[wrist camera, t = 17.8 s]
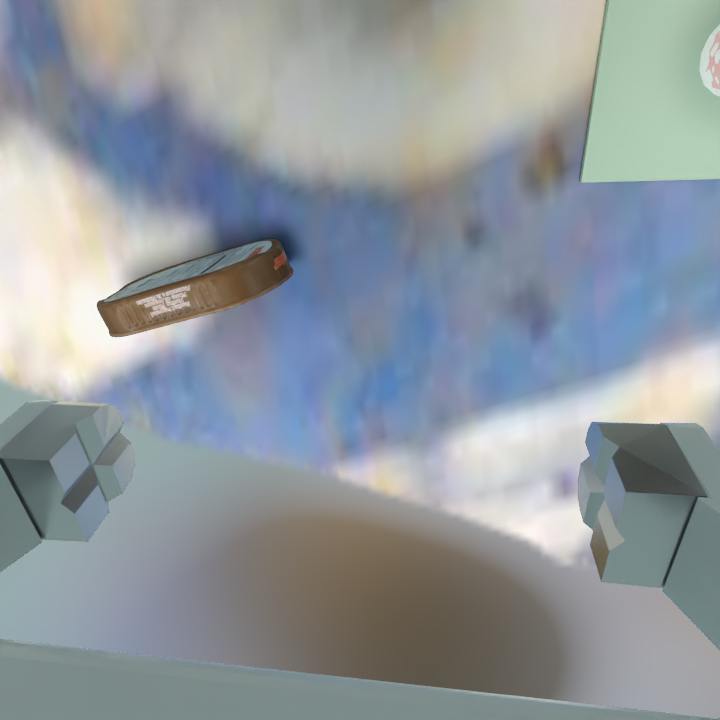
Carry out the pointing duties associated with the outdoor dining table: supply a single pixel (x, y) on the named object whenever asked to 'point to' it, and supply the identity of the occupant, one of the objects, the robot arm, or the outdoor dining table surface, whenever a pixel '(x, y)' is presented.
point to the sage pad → (653, 95)
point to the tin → (196, 288)
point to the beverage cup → (711, 62)
